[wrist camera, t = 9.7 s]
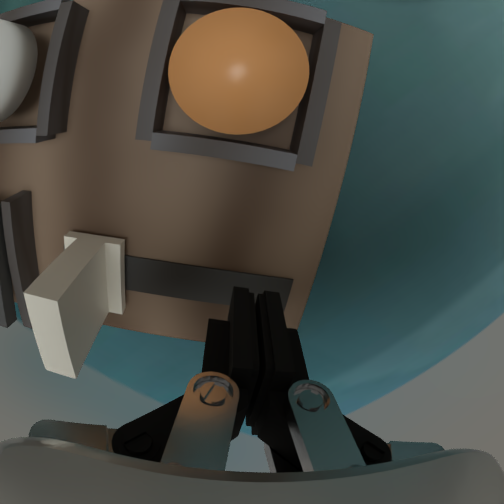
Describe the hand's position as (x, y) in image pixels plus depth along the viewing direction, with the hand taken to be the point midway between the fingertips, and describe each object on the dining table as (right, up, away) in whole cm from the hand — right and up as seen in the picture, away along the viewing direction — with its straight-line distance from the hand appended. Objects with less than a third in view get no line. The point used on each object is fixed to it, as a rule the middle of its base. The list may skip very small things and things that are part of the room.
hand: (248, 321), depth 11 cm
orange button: (0, +9, -2) cm, 9 cm away
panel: (-6, +7, +3) cm, 10 cm away
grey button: (-10, +10, -4) cm, 15 cm away
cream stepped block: (-7, +2, +2) cm, 7 cm away
